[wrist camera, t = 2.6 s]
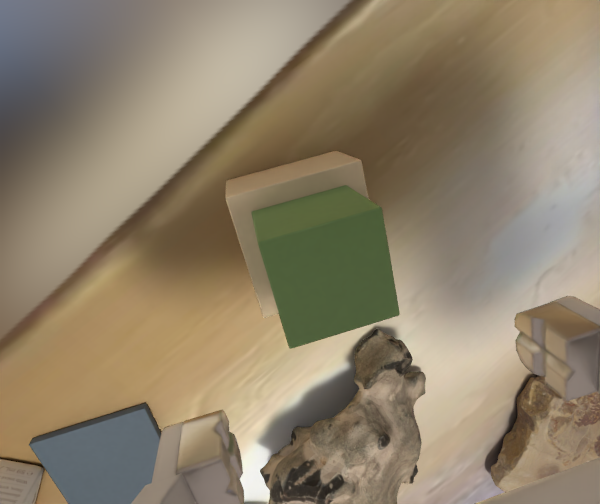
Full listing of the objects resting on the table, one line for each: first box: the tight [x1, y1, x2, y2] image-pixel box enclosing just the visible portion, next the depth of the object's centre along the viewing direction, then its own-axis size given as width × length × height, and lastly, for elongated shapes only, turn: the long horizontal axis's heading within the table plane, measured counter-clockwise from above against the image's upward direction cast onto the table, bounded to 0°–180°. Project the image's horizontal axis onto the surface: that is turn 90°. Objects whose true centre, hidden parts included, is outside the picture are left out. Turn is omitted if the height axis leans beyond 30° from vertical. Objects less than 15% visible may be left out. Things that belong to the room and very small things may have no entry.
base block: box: [225, 151, 368, 318], centre depth 23 cm, size 7×7×5 cm
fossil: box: [491, 376, 600, 492], centre depth 34 cm, size 11×15×4 cm
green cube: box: [251, 185, 400, 348], centre depth 18 cm, size 5×5×5 cm
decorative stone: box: [260, 329, 426, 504], centre depth 27 cm, size 16×9×10 cm, turn 141°
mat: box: [29, 403, 161, 504], centre depth 29 cm, size 8×8×1 cm
